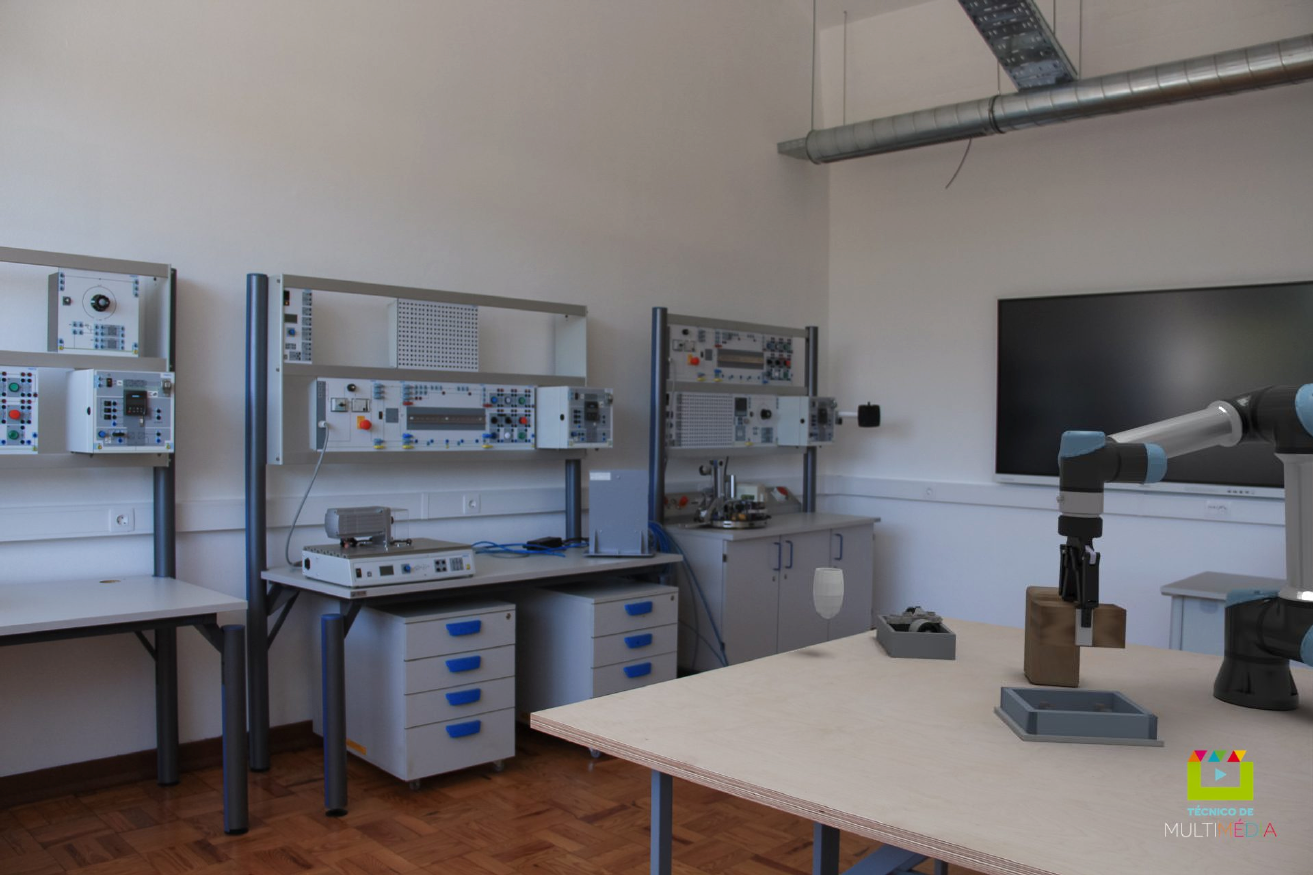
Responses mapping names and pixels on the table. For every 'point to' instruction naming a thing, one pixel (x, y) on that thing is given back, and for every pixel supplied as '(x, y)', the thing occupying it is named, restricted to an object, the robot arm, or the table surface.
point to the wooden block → (1048, 649)
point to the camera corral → (916, 642)
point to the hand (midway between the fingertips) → (1076, 640)
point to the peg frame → (1077, 716)
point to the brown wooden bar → (1059, 623)
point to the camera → (915, 621)
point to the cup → (828, 591)
